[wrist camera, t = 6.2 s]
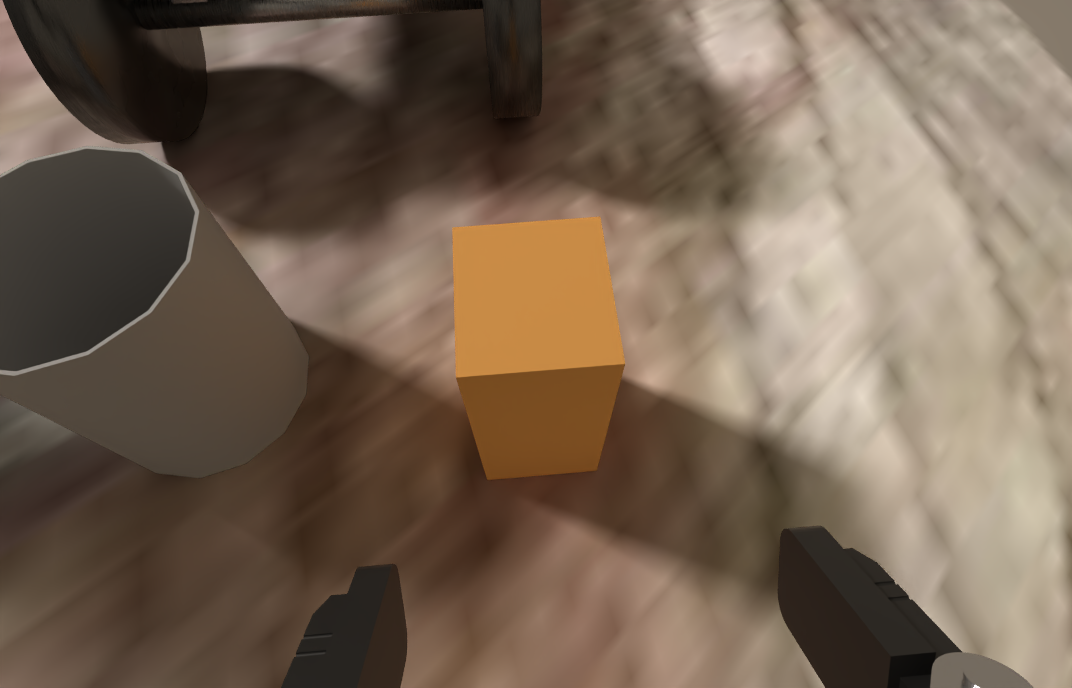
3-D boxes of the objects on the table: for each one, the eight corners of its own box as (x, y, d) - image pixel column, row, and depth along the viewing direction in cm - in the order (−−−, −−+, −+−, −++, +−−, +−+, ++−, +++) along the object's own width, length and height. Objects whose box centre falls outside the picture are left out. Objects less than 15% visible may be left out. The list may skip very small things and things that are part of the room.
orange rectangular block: (596, 470, 25) (624, 363, 16) (487, 480, 25) (456, 377, 16) (582, 361, 28) (600, 216, 19) (482, 369, 27) (452, 227, 19)
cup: (116, 504, 25) (-121, 414, 16) (112, 336, 28) (-83, 186, 20) (324, 438, 26) (211, 319, 17) (295, 284, 30) (189, 121, 21)
